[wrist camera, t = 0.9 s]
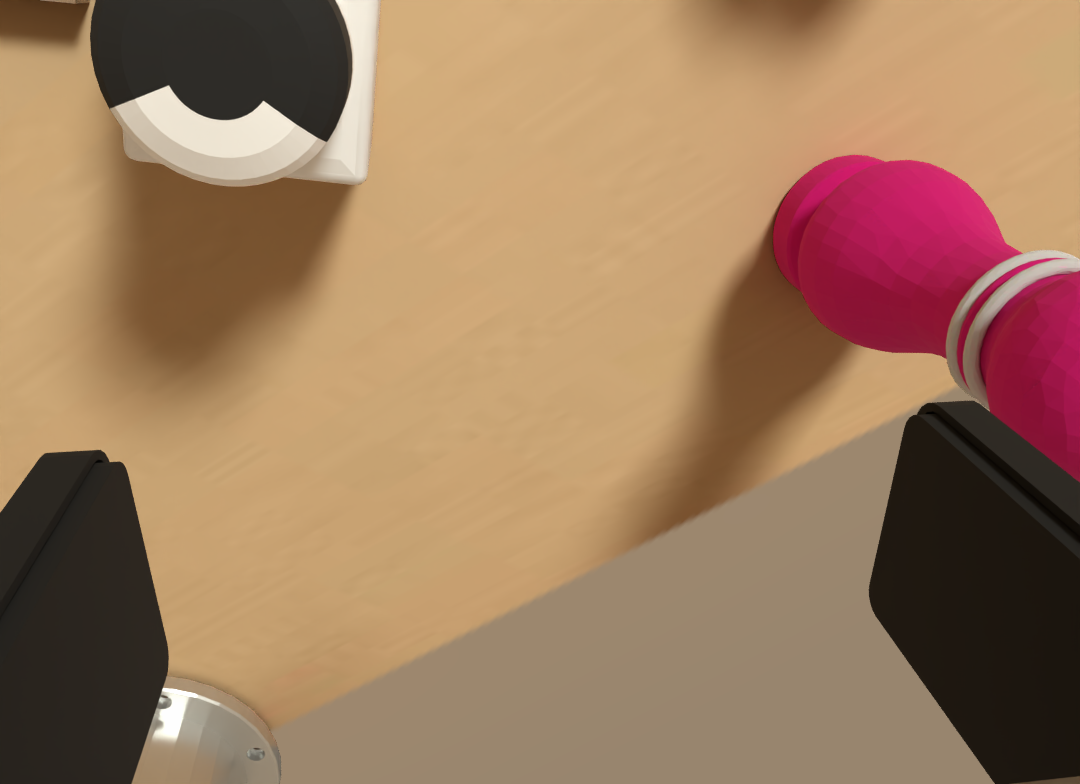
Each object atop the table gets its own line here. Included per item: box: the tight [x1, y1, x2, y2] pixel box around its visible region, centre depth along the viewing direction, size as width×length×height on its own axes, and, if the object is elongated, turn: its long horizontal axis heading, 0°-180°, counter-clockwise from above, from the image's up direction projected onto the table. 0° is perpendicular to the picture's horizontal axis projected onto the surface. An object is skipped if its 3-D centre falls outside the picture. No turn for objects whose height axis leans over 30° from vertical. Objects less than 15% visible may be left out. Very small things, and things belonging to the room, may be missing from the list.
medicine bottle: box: [90, 0, 381, 187], centre depth 26 cm, size 7×7×12 cm
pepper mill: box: [773, 155, 1080, 482], centre depth 29 cm, size 7×7×20 cm
